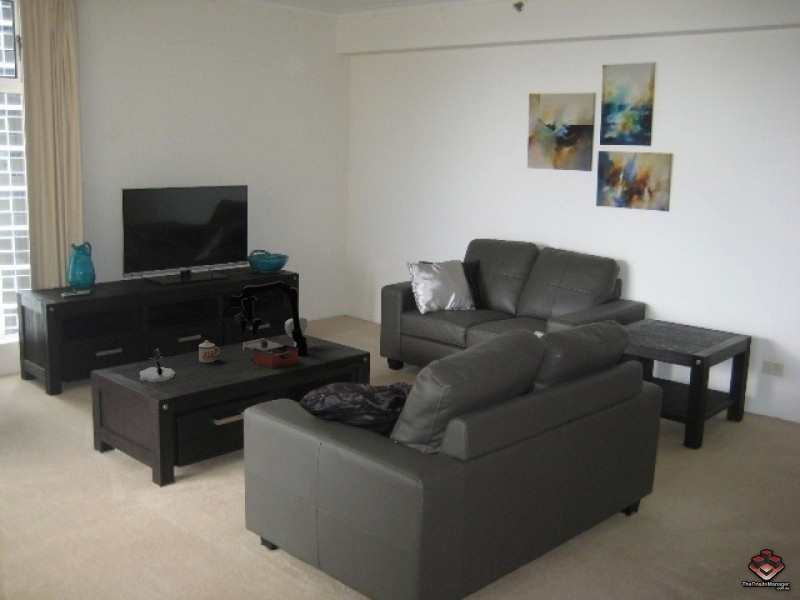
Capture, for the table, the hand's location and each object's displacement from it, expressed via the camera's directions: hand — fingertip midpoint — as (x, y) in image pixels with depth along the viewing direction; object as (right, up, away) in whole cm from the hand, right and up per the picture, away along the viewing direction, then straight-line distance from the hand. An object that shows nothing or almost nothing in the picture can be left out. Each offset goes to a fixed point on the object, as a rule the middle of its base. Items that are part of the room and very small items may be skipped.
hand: (248, 334), depth 502 cm
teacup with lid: (-20, -15, -11) cm, 27 cm away
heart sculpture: (+25, -9, +20) cm, 34 cm away
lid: (+10, -9, -7) cm, 15 cm away
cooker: (+19, -16, -13) cm, 28 cm away
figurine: (-41, -21, -43) cm, 63 cm away
